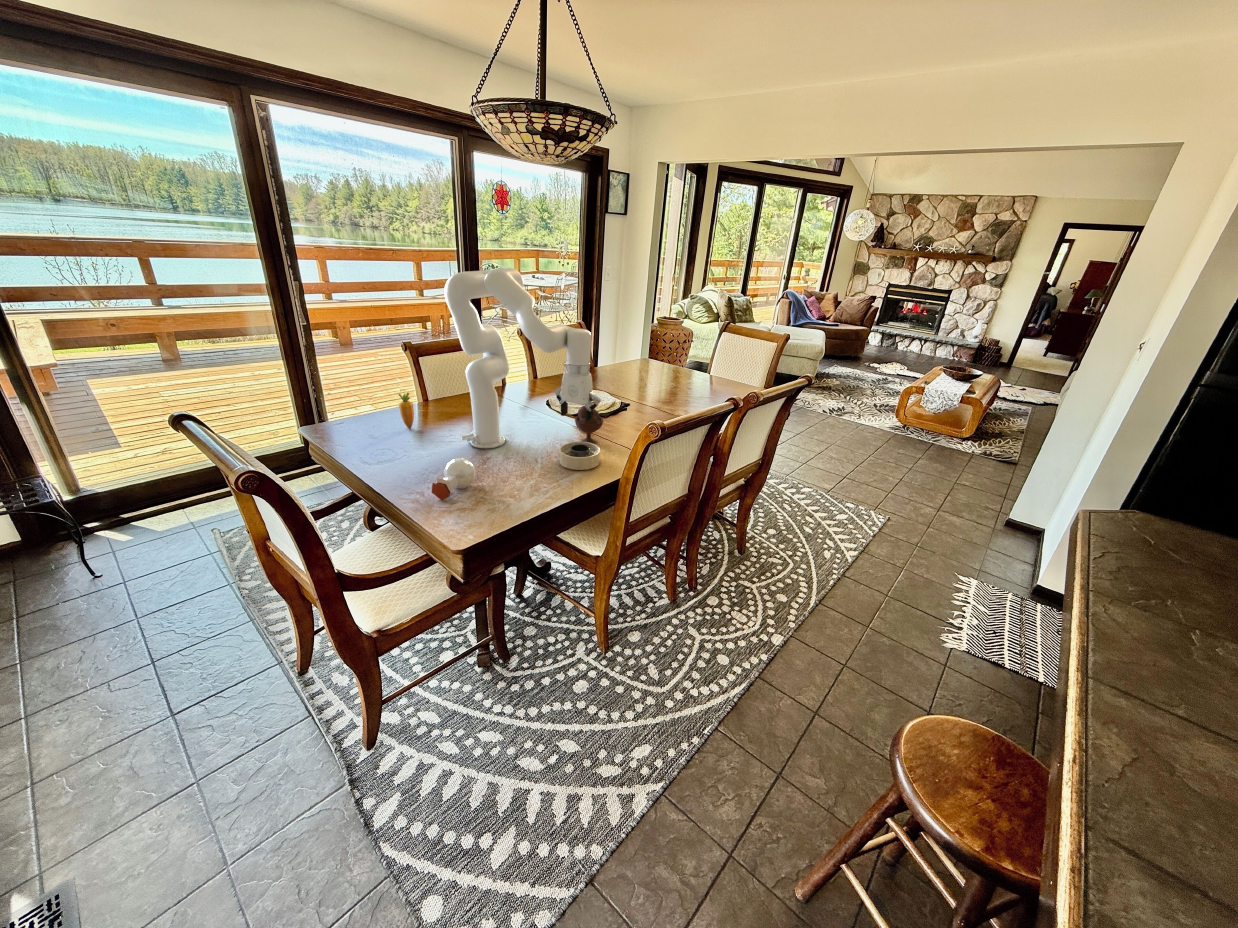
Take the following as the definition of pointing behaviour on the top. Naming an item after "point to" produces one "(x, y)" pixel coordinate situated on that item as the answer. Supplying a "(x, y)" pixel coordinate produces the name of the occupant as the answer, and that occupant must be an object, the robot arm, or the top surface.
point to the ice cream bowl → (588, 423)
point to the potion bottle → (454, 478)
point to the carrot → (406, 410)
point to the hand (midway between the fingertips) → (576, 417)
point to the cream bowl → (579, 462)
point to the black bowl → (579, 450)
